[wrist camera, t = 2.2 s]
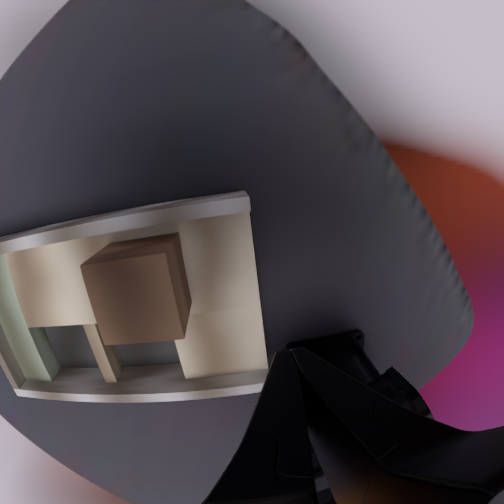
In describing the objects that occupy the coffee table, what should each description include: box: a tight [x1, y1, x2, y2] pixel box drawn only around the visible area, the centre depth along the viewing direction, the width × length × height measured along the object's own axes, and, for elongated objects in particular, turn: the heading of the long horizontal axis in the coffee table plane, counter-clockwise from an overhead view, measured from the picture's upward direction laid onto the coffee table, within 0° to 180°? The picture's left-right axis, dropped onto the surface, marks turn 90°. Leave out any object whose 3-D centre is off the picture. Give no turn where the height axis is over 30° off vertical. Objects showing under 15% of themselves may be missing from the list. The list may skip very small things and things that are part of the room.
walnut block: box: [80, 232, 192, 345], centre depth 16 cm, size 4×4×4 cm
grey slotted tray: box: [0, 191, 269, 403], centre depth 19 cm, size 22×13×4 cm, turn 96°
